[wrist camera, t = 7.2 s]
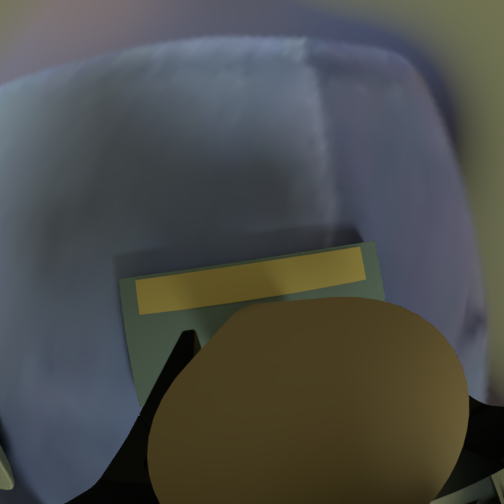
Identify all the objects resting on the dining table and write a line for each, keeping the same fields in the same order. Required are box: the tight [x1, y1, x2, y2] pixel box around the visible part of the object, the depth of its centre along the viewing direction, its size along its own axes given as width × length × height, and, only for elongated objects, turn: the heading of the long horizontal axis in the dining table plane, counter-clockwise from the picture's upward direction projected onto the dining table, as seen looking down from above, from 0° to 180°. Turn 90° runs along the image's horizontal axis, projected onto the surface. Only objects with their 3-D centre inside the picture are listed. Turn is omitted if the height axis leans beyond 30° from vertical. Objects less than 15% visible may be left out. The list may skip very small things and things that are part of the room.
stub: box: [119, 241, 469, 504], centre depth 9 cm, size 7×14×13 cm, turn 99°
